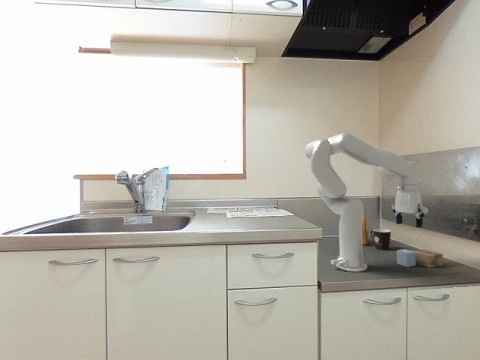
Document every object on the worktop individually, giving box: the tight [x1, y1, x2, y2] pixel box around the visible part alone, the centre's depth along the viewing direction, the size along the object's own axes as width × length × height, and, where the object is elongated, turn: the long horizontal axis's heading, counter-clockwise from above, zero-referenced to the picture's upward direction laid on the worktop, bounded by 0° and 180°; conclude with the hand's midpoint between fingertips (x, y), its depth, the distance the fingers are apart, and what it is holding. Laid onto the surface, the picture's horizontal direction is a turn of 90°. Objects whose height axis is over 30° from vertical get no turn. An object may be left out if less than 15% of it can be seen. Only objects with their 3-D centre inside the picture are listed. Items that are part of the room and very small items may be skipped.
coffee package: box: [362, 209, 369, 246], centre depth 154 cm, size 10×12×22 cm
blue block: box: [396, 248, 417, 268], centre depth 117 cm, size 5×5×6 cm
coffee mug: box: [370, 228, 392, 251], centre depth 144 cm, size 12×9×10 cm
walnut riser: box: [412, 248, 444, 268], centre depth 117 cm, size 8×8×5 cm
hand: (408, 225), depth 120 cm, fingers open, 9 cm apart
